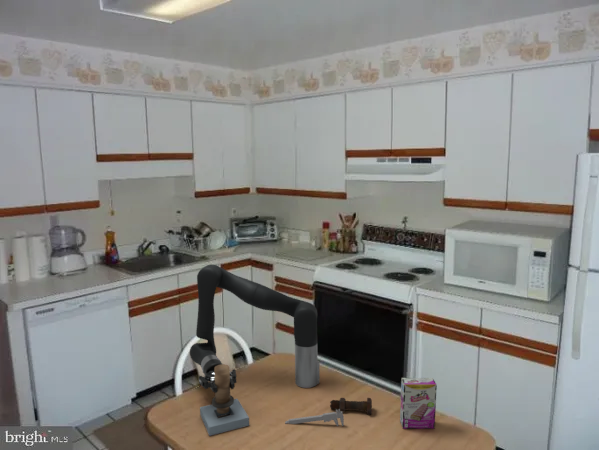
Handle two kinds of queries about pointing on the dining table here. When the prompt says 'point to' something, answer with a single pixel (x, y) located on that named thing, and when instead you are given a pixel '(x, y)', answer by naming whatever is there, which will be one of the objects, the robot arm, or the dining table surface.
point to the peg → (222, 389)
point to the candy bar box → (418, 403)
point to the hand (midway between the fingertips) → (224, 388)
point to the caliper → (320, 418)
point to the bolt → (352, 405)
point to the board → (224, 418)
